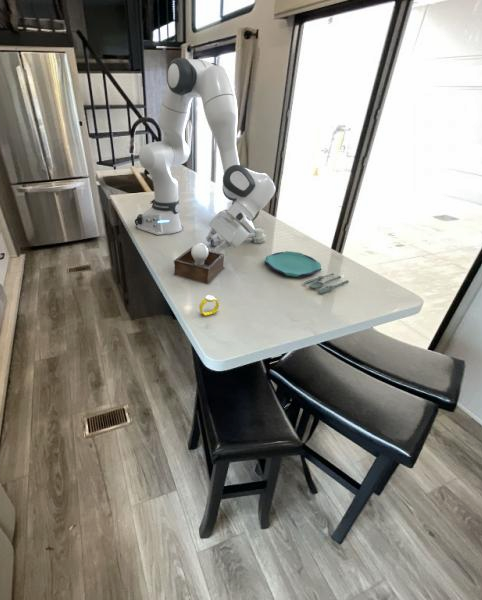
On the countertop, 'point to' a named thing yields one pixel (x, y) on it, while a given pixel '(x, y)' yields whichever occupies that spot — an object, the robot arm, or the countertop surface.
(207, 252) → the lightbulb
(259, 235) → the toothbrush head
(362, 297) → the countertop surface
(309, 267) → the cutlery set
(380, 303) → the countertop surface
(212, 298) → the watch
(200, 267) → the brown wooden box
